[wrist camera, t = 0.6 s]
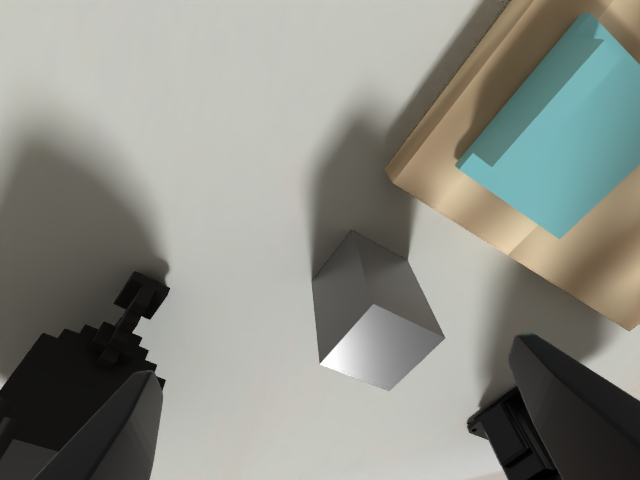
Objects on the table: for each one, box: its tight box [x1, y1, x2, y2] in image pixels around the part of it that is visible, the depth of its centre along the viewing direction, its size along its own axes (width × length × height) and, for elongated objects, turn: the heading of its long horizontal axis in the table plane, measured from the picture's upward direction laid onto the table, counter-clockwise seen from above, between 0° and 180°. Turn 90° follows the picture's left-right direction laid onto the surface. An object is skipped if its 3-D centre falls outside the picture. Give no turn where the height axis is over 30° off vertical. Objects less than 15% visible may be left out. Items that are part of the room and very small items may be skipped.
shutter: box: [455, 13, 640, 239], centre depth 18 cm, size 8×8×3 cm
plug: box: [312, 230, 445, 391], centre depth 23 cm, size 5×5×7 cm
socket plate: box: [384, 0, 640, 331], centre depth 22 cm, size 22×13×2 cm, turn 57°
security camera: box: [0, 271, 170, 480], centre depth 24 cm, size 7×18×10 cm, turn 142°
